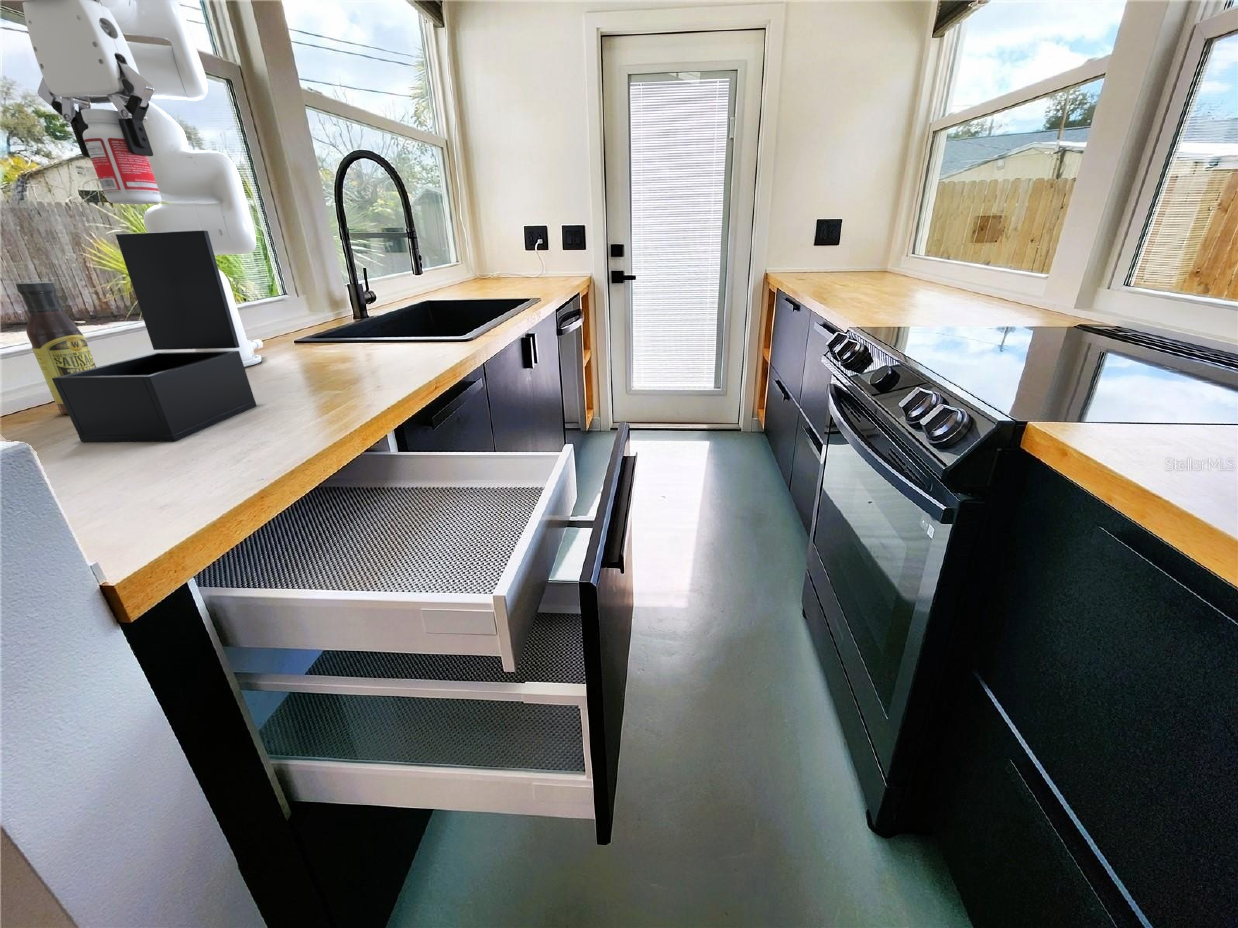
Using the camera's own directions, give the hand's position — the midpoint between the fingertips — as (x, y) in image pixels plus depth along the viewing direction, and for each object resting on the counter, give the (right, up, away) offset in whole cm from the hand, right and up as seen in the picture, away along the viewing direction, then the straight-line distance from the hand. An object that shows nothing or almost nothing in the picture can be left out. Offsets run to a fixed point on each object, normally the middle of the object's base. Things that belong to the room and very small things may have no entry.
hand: (118, 155), depth 74 cm
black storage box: (+4, -37, +5) cm, 37 cm away
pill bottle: (0, -6, +2) cm, 6 cm away
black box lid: (+4, -17, +6) cm, 19 cm away
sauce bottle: (-18, -34, +14) cm, 41 cm away
